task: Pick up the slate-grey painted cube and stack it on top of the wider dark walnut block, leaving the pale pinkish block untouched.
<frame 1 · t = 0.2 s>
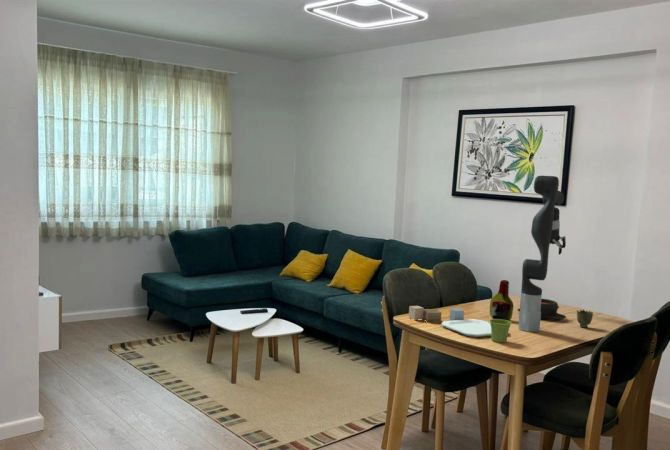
hand: (551, 253, 334), 31 cm above the table, tool tilted 20°, fingers open, 8 cm apart
pale pinkish block: (415, 319, 296), on the table
plant pot: (498, 341, 263), on the table
bottle: (500, 319, 305), on the table
cup: (583, 327, 297), on the table
casserole: (540, 317, 317), on the table
grey cube: (456, 321, 295), on the table
walnut block: (431, 320, 294), on the table
plate: (474, 331, 280), on the table
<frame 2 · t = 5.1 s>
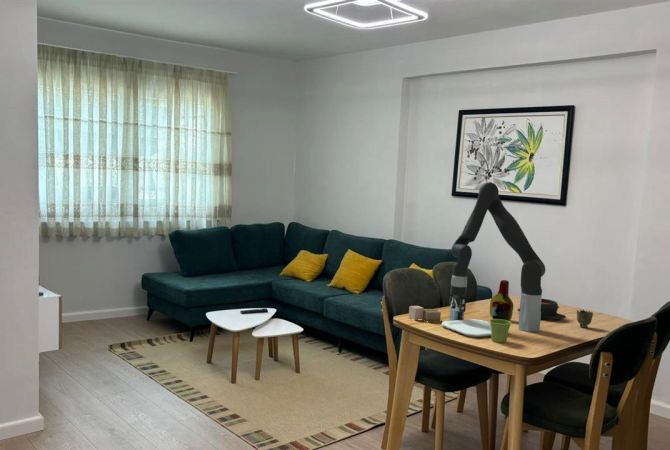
hand: (456, 317, 295), 2 cm above the table, tool pointing down, fingers open, 8 cm apart
plate: (474, 331, 280), on the table, touching gripper
everything else where it was.
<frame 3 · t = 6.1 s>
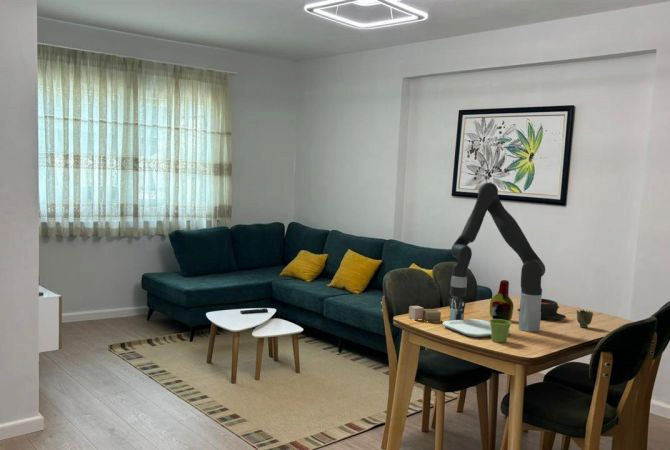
hand: (455, 319, 295), 1 cm above the table, tool pointing down, fingers closed on grey cube, 5 cm apart
grey cube: (456, 321, 295), on the table, touching gripper
plate: (475, 331, 279), on the table
everything else where it was.
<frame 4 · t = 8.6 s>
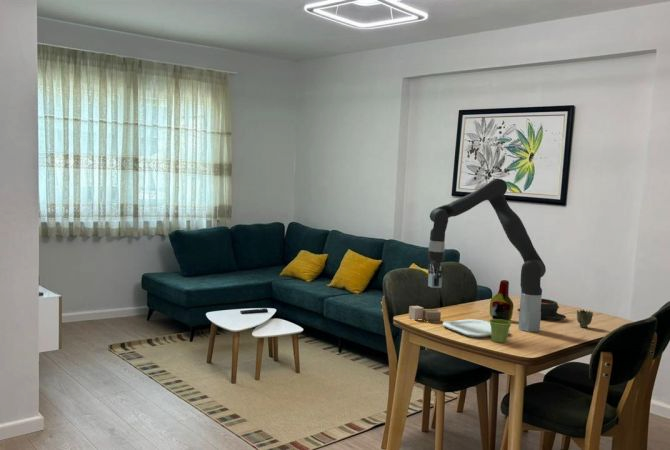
hand: (434, 284, 293), 17 cm above the table, tool pointing down, fingers closed on grey cube, 5 cm apart
grey cube: (434, 286, 293), point 17 cm above the table, touching gripper
everything else where it was.
when the fingers open (7 cm above the table, at t = 11.4 s): grey cube drops 1 cm, resting on walnut block.
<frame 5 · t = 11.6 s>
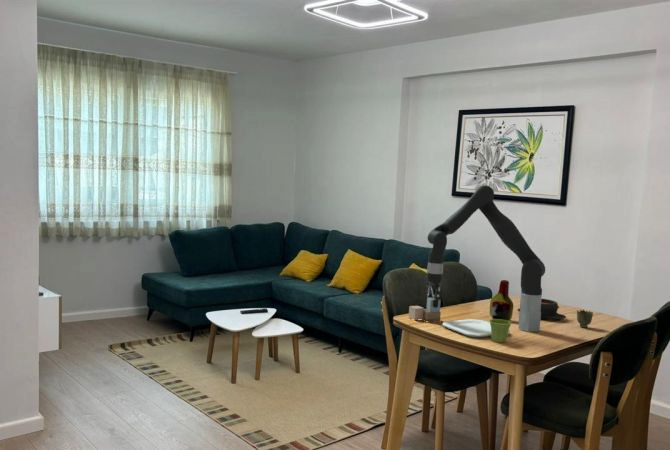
hand: (432, 305, 294), 7 cm above the table, tool pointing down, fingers open, 7 cm apart
grey cube: (433, 310, 294), point 5 cm above the table, touching walnut block
walnut block: (430, 320, 294), on the table, touching grey cube
everything else where it was.
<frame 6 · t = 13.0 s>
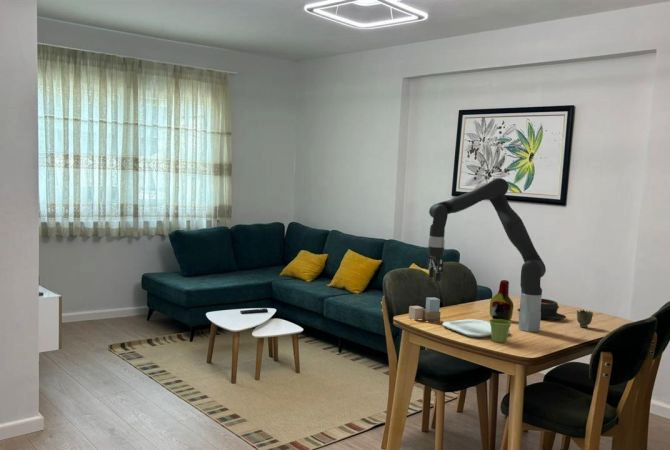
hand: (434, 279, 292), 20 cm above the table, tool pointing down, fingers open, 8 cm apart
grey cube: (432, 310, 294), point 5 cm above the table
walnut block: (430, 320, 294), on the table
everything else where it was.
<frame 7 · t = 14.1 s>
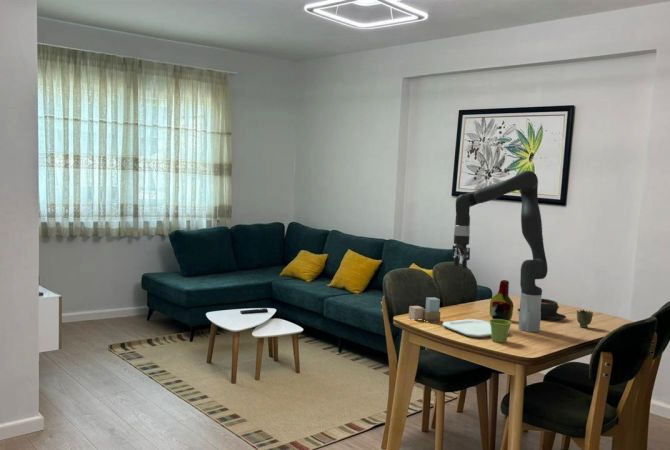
hand: (460, 267, 301), 26 cm above the table, tool pointing down, fingers open, 8 cm apart
grey cube: (432, 310, 294), point 5 cm above the table, touching walnut block
walnut block: (430, 320, 294), on the table, touching grey cube
everything else where it was.
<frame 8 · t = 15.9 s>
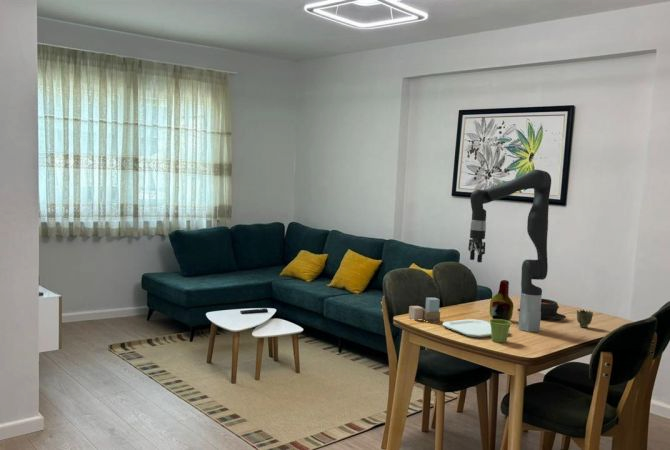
hand: (475, 261, 308), 28 cm above the table, tool pointing down, fingers open, 8 cm apart
nothing on the table moved.
at the end: grey cube 0.4 cm off-centre on the walnut block, point 5.0 cm above the walnut block's base; grey cube tilted 0°; grey cube touching nothing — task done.
